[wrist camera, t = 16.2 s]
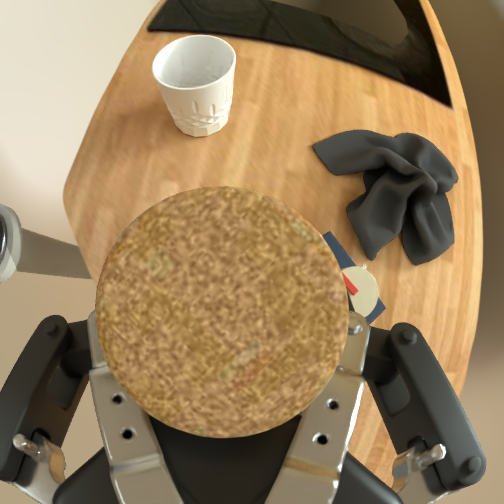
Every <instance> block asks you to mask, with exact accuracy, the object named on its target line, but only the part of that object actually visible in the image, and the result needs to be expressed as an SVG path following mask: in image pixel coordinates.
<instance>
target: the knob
mask: <svg viewBox="0 0 504 504" xmlns="http://www.w3.org/2000/svg"><path fill="white" fill-rule="evenodd" d="M341 272H342V274H343V278H344V282H345V285H346V287H347V290H348V293H349V296H350V299H351V301H352V304H353V307H354V310H355V312H356V313H359V314H361V315H362V316H364V317H366V316H368V315H369V314H370V313H371V312H372V311H373V309H374V308H375V306H376V303H377V300H378V286H377V282H376V280H375V278H374V277H373V275H372V274H371V273H370V272H369V271H367V270H366V269H364V268H361V267H356V266H354V267H347V268H343V269H341Z"/></svg>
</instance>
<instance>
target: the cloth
mask: <svg viewBox="0 0 504 504" xmlns="http://www.w3.org/2000/svg"><path fill="white" fill-rule="evenodd" d="M313 148H314V150H315V152H316V153H317V155H318V156H319V158H320V159H321V161H322V162H323V163H324V164H325V166H326V167H327V168H328V169H329V171H330V172H332V173H333V174H334V175H346V174H357V173H360V172H362V171H365V173H364V177H363V178H364V183H365V187H366V192H365V193H364V194H362V195H361V196H359V197H358V198H357V199H355V200H354V201H352V202H350V203H349V204H348V206H347V207H346V211H347V216H348V218H349V219H350V221H351V223H352V225H353V227H354V229H355V231H356V233H357V236H358V238H359V240H360V242H361V244H362V246H363V248H364V251H365V253H366V255H367V257H368V258H369V260H371V261H372V260H374V259H375V257H376V253H377V252H378V251H379V250H380V249H381V248H382V247H383V246H384V245H386V244H387V243H389V242H390V241H392V240H393V239H394V238H395V237H396V236H397V235H398V234H399V233H400V232H401V229H402V243H403V246H404V249H405V252H406V253H407V255H408V257H409V258H410V260H411V261H412V262H413V264H414V265H416V266H417V265H419V264H422V263H426V262H429V261H431V260H433V259H435V258H437V257H439V256H440V255H441V254H442V253H443V252H445V251H446V250H447V249H448V248H449V247H450V245H452V244H454V229H453V222H452V216H451V211H450V206H449V203H448V199H447V197H446V195H445V193H446V192H448V191H450V190H451V189H452V187H453V184H455V183H457V181H458V175H457V173H456V170H455V168H454V167H453V165H452V164H451V163H450V161H449V160H448V159H447V158H446V157H445V156H444V154H443V153H442V152H441V151H440V150H439V149H438V148H437V147H436V146H435V145H434V144H433V143H432V142H430V141H429V140H427V139H425V138H424V137H421V136H419V135H417V134H412V133H404V134H400V135H398V136H397V137H396V138H394V137H389V136H385V135H382V134H379V133H376V132H373V131H369V130H352V131H347V132H343V133H340V134H337V135H335V136H333V137H330V138H328V139H326V140H323V141H321V142H319V143H317V144H314V145H313Z"/></svg>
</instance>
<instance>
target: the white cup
mask: <svg viewBox="0 0 504 504" xmlns="http://www.w3.org/2000/svg"><path fill="white" fill-rule="evenodd" d="M235 62H236V55H235V52H234V50H233V48H232V47H231V46H230V45H229V44H228V43H227V42H226V41H224V40H222V39H220V38H217V37H214V36H209V35H192V36H187V37H183V38H180V39H177V40H175V41H173V42H171V43H169V44H168V45H166V46H165V47H163V48H162V49H161V50H160V51H159V52H158V54H157V55H156V56H155V58H154V60H153V63H152V73H153V76H154V78H155V81H156V83H157V85H158V88H159V90H160V92H161V95H162V97H163V100H164V102H165V104H166V106H167V108H168V110H169V112H170V114H171V116H172V117H173V120H174V122H175V125H176V126H177V127H178V128H179V129H180V130H181V131H182V132H183V133H184V134H188V135H191V136H194V137H200V136H209V135H211V134H213V133H215V132H217V131H219V130H220V129H221V128H222V127H223V126H224V125H225V124H226V123H227V121H228V117H229V113H230V105H231V101H232V93H233V83H234V71H235Z"/></svg>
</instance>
